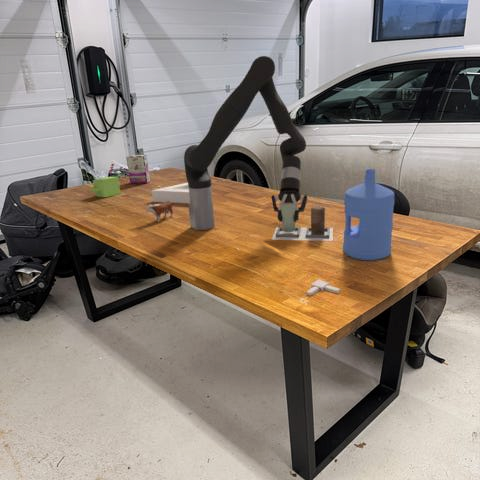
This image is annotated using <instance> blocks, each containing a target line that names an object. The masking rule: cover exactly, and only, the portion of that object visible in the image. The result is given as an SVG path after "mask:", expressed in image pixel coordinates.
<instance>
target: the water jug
mask: <svg viewBox="0 0 480 480" xmlns="http://www.w3.org/2000/svg"><path fill="white" fill-rule="evenodd" d="M364 171H365V175H364V182H363V183H361V184H358V185H356V186H353V187H351V188H348V189H347V190H346V191H345V192H344V198H343V199H344V200H343V203H344V211H343V212H344V214H345V220H344V222H345V223H344V224H345V225H344V227H345V228H344V231H343V243H342V249H343V252H344V254H345V255H347V256H348V257H349V258H351V259H356V260H361V261H377V260H378V261H379V260H382V259H383V260H384V259H385V258H387V257H390V254H391V252H392V238H393V237H392V235H393V234H392V233H393V228H394V227H393V225H394V223H393V221H394V220H393V219H394V208H395V207H394V206H395V192H394V190H391V189H390V188H388V187H386V186H384V185H381V184H379V183H376V171H377V170H376V169H372V168H370V169H365V170H364ZM352 218H353V219H354V218H356V219H359V223H358V224H357V225H354V226H353V225H351V224H352V223H351V222H352Z"/></svg>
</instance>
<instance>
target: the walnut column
mask: <svg viewBox="0 0 480 480" xmlns="http://www.w3.org/2000/svg"><path fill="white" fill-rule="evenodd" d="M325 217H326V208H325V206H319V205H316V206H311V208H310V227H311V234H314V235H324V234H325V228H326V227H325V226H326V225H325V224H326V223H325V222H326V221H325V220H326V218H325Z"/></svg>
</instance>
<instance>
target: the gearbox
mask: <svg viewBox="0 0 480 480" xmlns="http://www.w3.org/2000/svg"><path fill="white" fill-rule="evenodd" d="M92 184H93V186H92V187H89V189H90V190H89V191H90V192H94V195H95V197H98V198H108V197H113V196H116V195H119V194H121V187H120V181H119V177H118V176H106V177H101V178H100V177H99V178H96V179H93V180H92Z"/></svg>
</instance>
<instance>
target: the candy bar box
mask: <svg viewBox="0 0 480 480" xmlns="http://www.w3.org/2000/svg"><path fill="white" fill-rule="evenodd" d="M126 164H127V171H128V176H129V177H128V178H129V184H131V185H132V184H133V185H134V184H135V185H136V184H139V185H140V184H148V183H150V182H151V179H150V172H149V171H150V170H149V163H148V155H147V154H133V155H130V154H129V155H127V156H126Z"/></svg>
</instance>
